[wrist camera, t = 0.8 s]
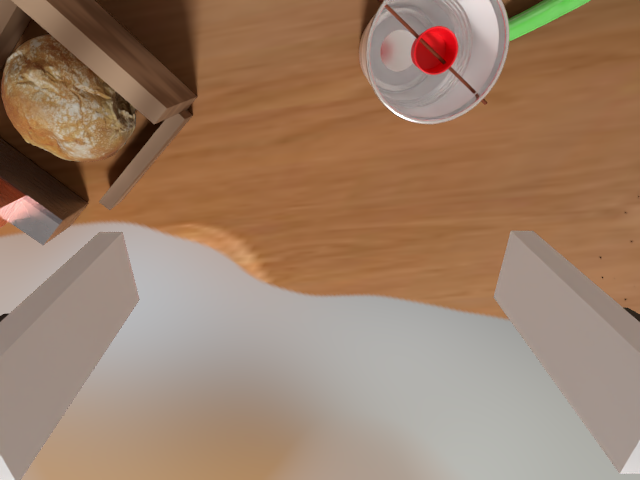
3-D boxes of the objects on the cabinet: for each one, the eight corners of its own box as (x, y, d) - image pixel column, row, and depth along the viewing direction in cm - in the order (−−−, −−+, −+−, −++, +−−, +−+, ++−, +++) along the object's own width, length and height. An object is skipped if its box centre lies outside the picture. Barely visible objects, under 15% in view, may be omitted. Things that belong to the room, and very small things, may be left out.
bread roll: (162, 134, 38) (156, 143, 31) (59, 173, 37) (28, 193, 30) (107, 26, 34) (85, 8, 27) (-12, 66, 33) (-68, 58, 26)
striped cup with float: (323, 54, 34) (327, 55, 23) (389, -39, 31) (429, -87, 20) (406, 126, 36) (443, 158, 26) (473, 47, 34) (548, 46, 23)
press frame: (-29, 86, 35) (-119, 95, 27) (47, -45, 30) (-36, -74, 23) (120, 201, 39) (77, 235, 32) (203, 102, 35) (174, 115, 28)
